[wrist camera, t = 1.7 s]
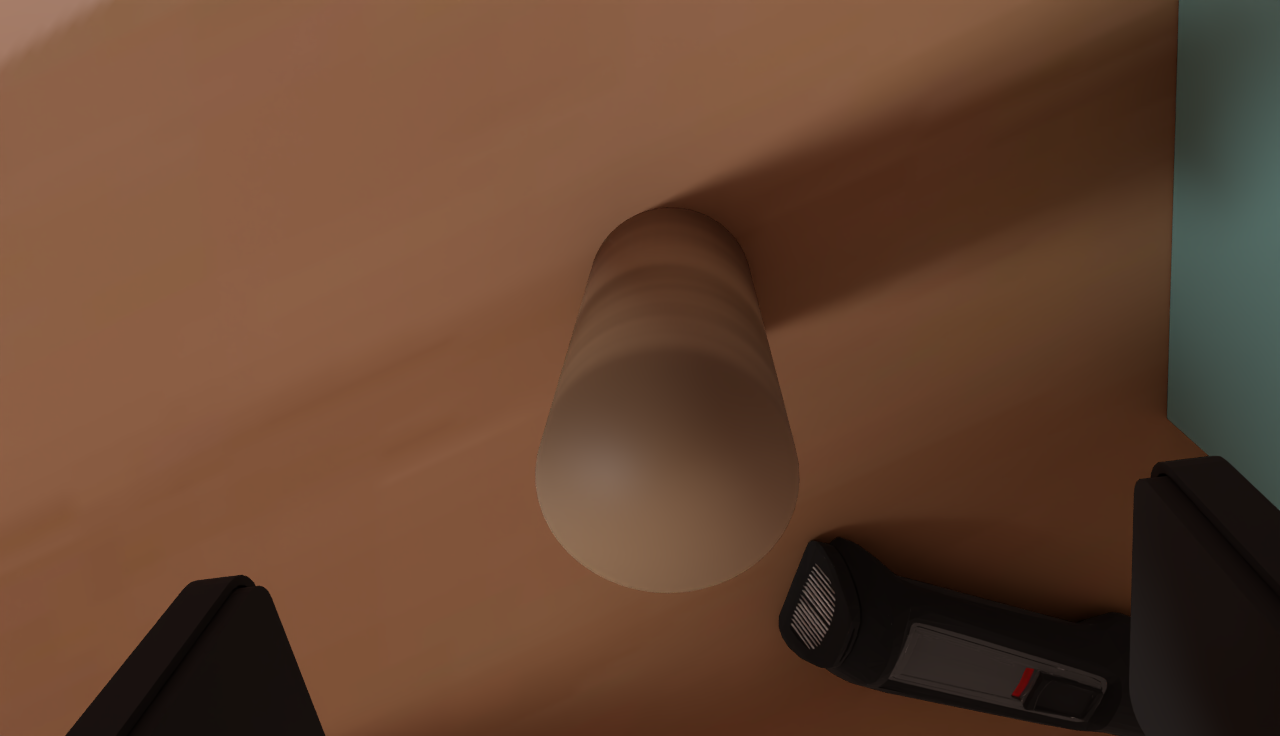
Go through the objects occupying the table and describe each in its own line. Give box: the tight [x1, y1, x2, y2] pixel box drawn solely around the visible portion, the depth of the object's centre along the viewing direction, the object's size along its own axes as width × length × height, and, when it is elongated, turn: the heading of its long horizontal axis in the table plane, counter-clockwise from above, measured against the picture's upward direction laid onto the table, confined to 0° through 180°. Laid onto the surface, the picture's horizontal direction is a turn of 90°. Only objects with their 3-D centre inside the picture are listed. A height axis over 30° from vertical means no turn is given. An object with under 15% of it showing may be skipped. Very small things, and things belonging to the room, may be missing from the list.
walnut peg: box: [535, 208, 799, 593], centre depth 19 cm, size 4×4×10 cm
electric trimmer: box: [779, 537, 1145, 736], centre depth 26 cm, size 4×16×3 cm, turn 74°
